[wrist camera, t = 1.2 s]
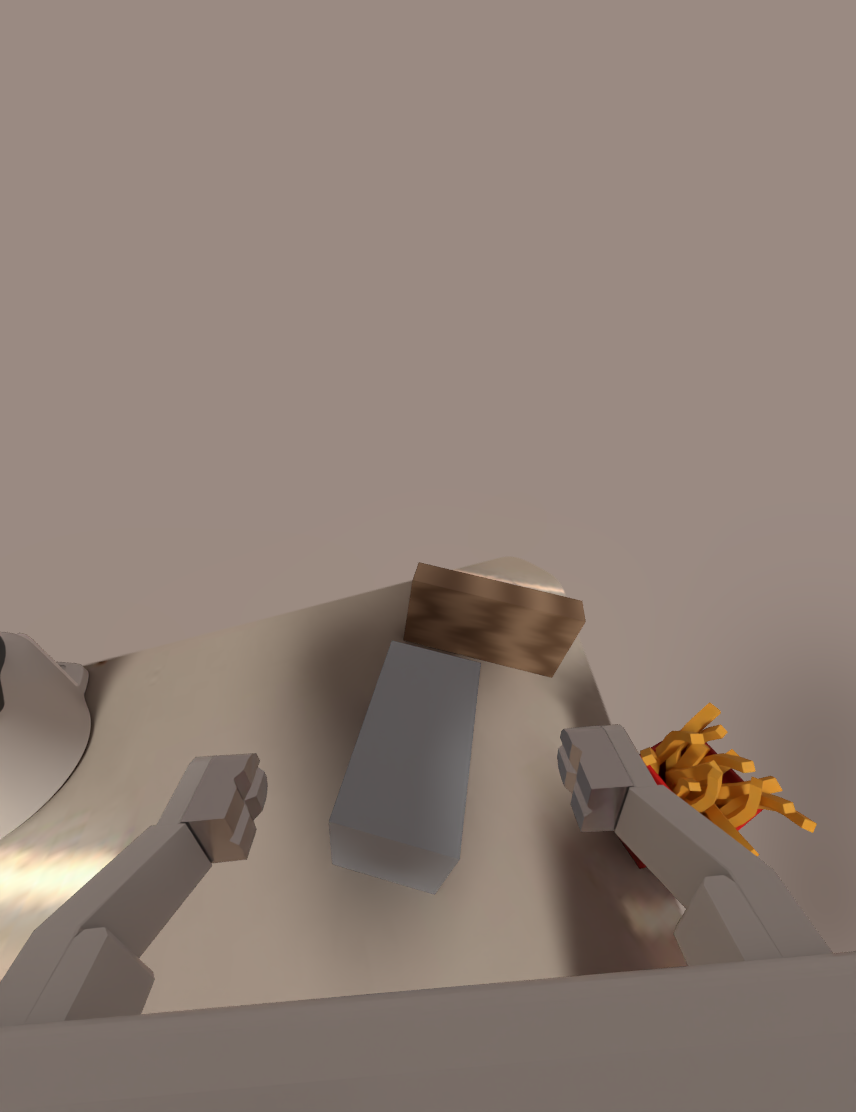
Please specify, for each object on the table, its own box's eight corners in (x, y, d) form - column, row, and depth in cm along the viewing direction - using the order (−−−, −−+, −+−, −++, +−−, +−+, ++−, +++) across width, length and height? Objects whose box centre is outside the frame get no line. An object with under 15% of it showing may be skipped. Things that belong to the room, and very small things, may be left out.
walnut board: (403, 640, 46) (412, 580, 40) (409, 621, 48) (418, 562, 42) (551, 677, 45) (585, 621, 39) (550, 656, 47) (582, 601, 41)
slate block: (332, 864, 29) (328, 821, 23) (384, 700, 40) (391, 640, 34) (434, 894, 29) (459, 859, 22) (459, 720, 39) (480, 662, 33)
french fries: (632, 770, 38) (728, 686, 28) (708, 867, 32) (858, 803, 23) (565, 811, 34) (650, 730, 25) (638, 927, 29) (783, 882, 19)
